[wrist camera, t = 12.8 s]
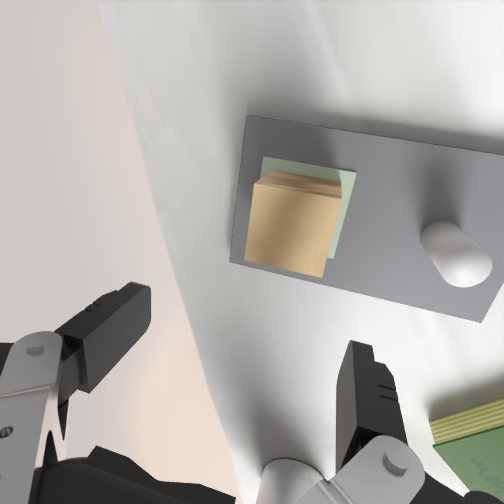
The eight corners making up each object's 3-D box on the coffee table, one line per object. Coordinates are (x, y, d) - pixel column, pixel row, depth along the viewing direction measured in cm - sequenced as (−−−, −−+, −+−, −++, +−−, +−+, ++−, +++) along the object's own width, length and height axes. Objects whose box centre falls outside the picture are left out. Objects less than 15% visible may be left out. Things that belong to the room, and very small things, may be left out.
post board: (474, 313, 30) (514, 370, 23) (233, 256, 34) (207, 290, 27) (554, 162, 24) (638, 180, 17) (250, 115, 28) (222, 115, 21)
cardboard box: (341, 181, 26) (341, 199, 21) (325, 246, 29) (321, 278, 23) (272, 169, 28) (254, 183, 22) (262, 232, 30) (244, 260, 24)
